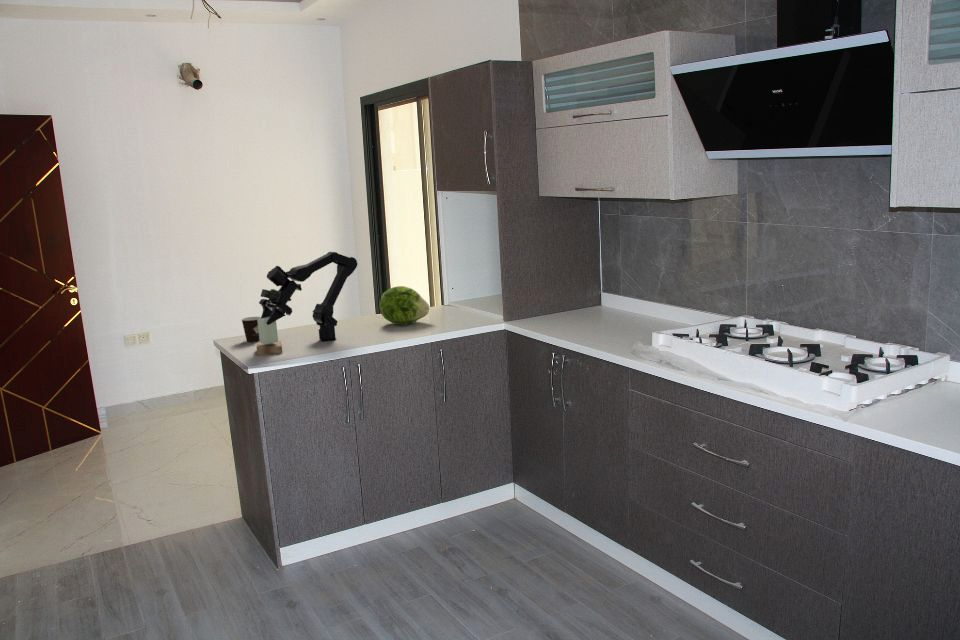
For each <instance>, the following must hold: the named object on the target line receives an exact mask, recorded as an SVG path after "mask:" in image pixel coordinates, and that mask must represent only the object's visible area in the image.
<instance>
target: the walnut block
mask: <svg viewBox="0 0 960 640" xmlns="http://www.w3.org/2000/svg"><path fill="white" fill-rule="evenodd" d="M282 345H283V344H282V340H278V342H275V343H270V344H263V343H260V342H256V356H257V357H259V356H261V357H262V356H269V355H270V356H271V355H279V354H280V355H281V354H283V346H282Z"/></svg>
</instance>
